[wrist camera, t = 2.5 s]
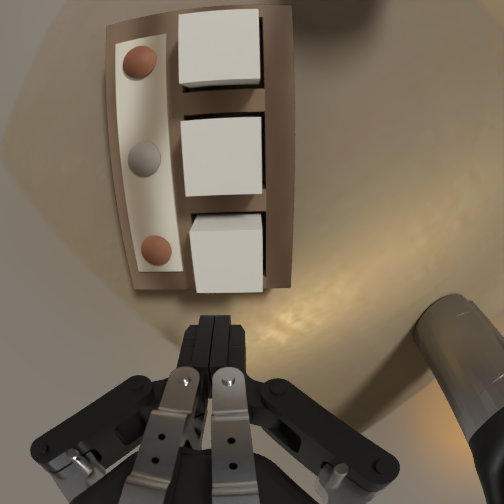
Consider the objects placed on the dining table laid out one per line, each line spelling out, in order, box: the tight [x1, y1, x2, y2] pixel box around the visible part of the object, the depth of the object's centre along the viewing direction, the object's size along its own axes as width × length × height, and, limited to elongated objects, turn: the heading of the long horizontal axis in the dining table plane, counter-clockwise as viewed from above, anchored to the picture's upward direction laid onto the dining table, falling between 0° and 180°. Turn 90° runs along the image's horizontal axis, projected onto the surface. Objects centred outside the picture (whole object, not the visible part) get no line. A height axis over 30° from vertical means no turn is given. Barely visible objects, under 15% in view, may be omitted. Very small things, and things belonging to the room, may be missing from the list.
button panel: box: [106, 5, 295, 290], centre depth 22 cm, size 14×23×4 cm, turn 1°
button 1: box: [189, 213, 263, 293], centre depth 23 cm, size 5×5×4 cm
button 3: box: [178, 9, 260, 88], centre depth 16 cm, size 5×5×4 cm
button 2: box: [181, 117, 262, 197], centre depth 20 cm, size 5×5×4 cm
